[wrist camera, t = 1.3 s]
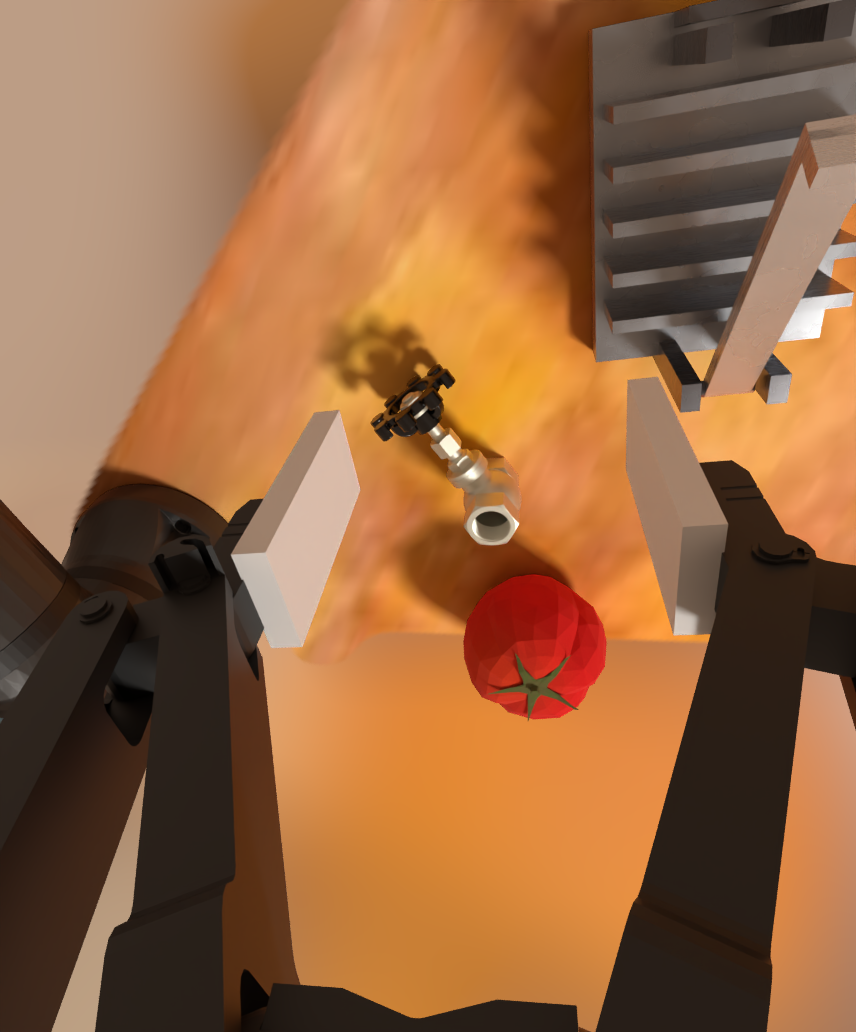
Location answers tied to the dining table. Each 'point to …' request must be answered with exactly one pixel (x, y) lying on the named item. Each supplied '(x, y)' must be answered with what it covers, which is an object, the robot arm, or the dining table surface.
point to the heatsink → (705, 171)
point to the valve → (457, 458)
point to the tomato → (534, 647)
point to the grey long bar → (787, 252)
